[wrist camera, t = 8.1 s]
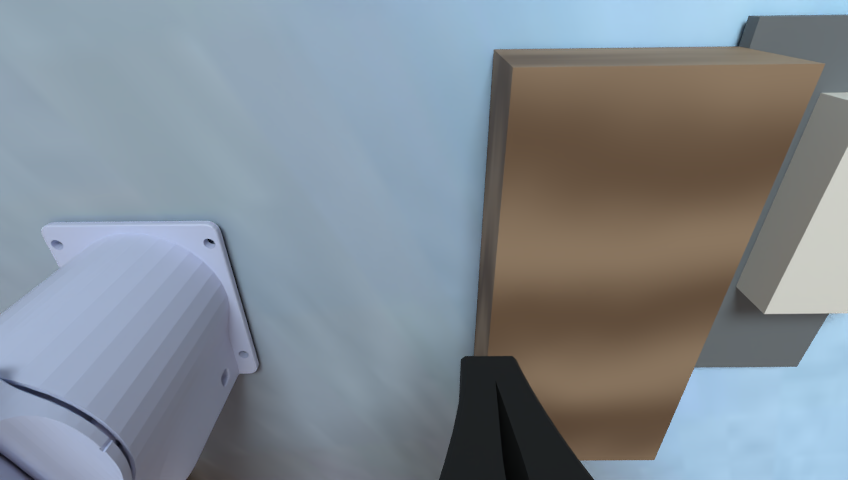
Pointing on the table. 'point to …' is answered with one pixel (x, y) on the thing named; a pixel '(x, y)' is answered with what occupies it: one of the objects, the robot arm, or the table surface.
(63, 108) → the table surface
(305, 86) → the table surface
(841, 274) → the cream foam block
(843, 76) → the mat
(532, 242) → the brown wooden block
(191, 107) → the table surface
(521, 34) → the table surface
